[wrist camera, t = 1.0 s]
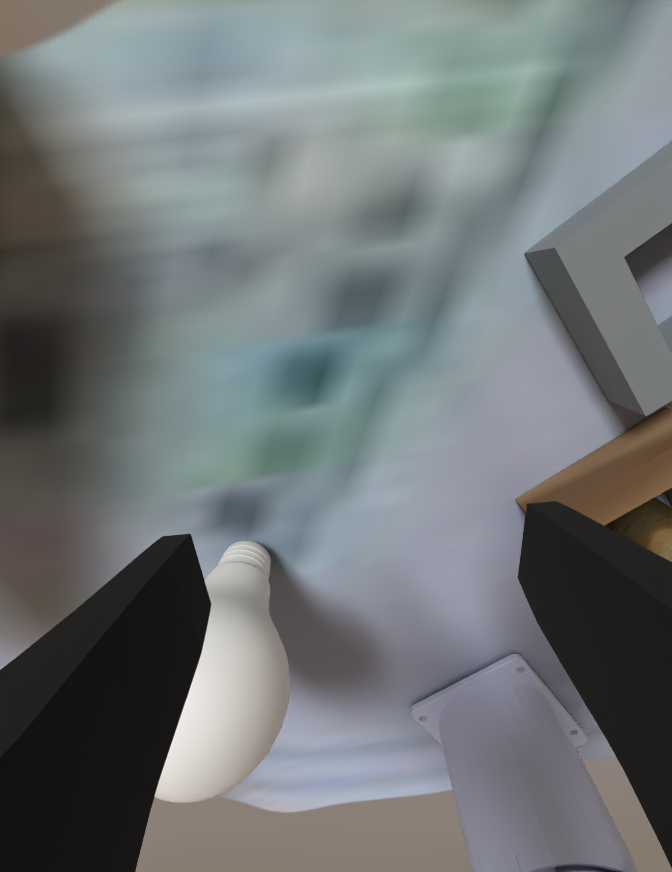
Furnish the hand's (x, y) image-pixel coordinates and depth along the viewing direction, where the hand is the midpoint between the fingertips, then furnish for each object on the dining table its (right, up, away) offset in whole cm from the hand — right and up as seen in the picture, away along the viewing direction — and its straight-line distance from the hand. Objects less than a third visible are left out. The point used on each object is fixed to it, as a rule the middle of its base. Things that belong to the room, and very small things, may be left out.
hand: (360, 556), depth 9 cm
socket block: (+13, +10, +8) cm, 18 cm away
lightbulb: (-5, -4, +13) cm, 15 cm away
